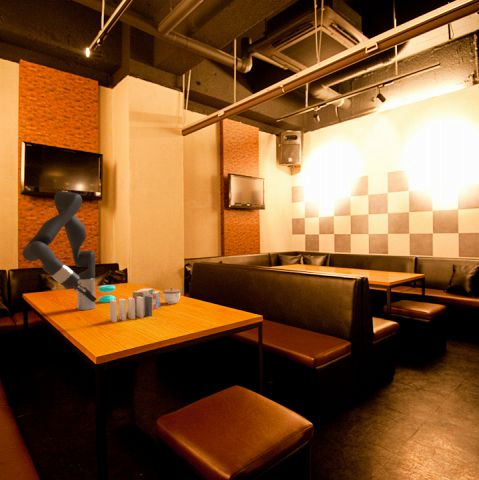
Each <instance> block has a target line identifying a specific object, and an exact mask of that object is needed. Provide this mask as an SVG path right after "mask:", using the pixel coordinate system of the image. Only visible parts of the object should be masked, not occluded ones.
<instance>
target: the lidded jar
mask: <svg viewBox="0 0 479 480" xmlns="http://www.w3.org/2000/svg"><path fill="white" fill-rule="evenodd" d="M162 296H163V299H164V301H165V303H166V304H167V303H168V304H169V305H174V303H175V304H177V303H178V302H179V300H180V298H181V289H177V288H173V287H170V288H169V289H164V290H162Z"/></svg>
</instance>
